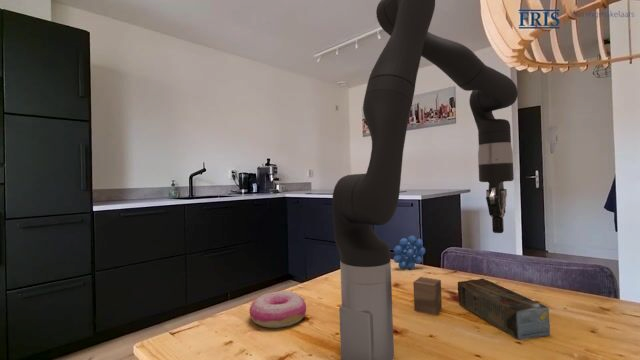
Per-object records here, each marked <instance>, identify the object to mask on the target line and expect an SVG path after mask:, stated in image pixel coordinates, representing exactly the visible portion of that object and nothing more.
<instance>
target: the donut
mask: <svg viewBox="0 0 640 360" xmlns="http://www.w3.org/2000/svg"><path fill="white" fill-rule="evenodd" d="M306 313H307V305H306V301H305V299H304V298H303V297H302V296H300V295H299V294H297V293H296V292H292V291H285V290H284V291H273V292H267V293H265V294H262V295H259V296H258V297H256V298H255V299H254V301H252V303H251V305H250V307H249V317H250V318H251V320H252V322H254V323H255V324H257V325H258V326H261V327H263V328H269V329H279V328H280V329H281V328H285V327H290V326H293V325H295V324H297V323H298V322H300V321H301V320H302V319H304V317H305V316H306Z"/></svg>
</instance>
